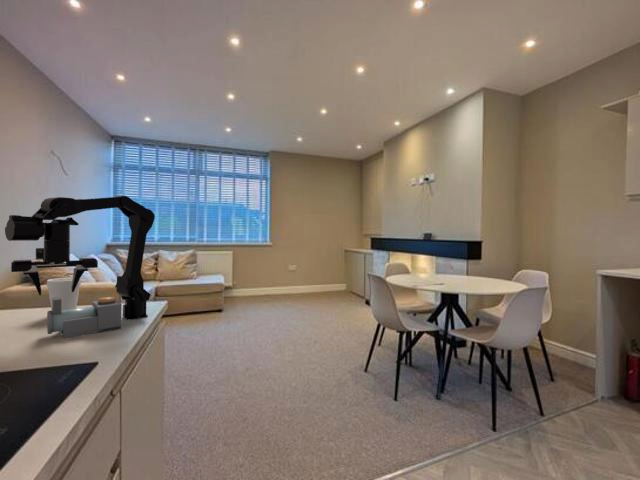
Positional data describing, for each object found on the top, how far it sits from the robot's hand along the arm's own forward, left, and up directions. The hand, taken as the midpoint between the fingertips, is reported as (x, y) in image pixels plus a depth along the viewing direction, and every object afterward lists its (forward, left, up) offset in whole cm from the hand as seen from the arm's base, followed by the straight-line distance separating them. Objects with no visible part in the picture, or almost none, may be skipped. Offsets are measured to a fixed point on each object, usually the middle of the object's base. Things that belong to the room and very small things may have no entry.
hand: (56, 293), depth 88 cm
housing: (-7, 0, -12) cm, 14 cm away
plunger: (-12, 0, -7) cm, 14 cm away
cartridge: (-3, 0, -12) cm, 12 cm away
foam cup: (-4, -27, -13) cm, 30 cm away
